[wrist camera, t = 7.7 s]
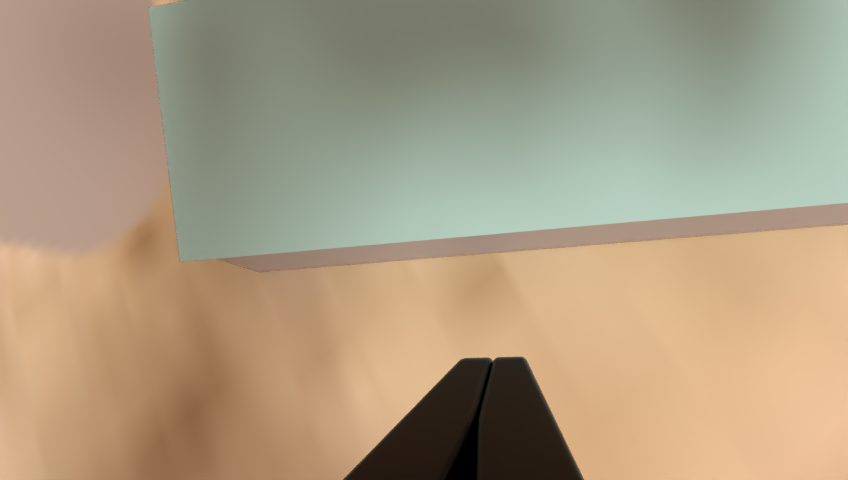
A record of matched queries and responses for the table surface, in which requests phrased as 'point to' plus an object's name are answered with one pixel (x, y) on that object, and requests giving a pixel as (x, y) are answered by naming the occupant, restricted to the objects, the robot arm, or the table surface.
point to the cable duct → (554, 238)
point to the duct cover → (491, 116)
